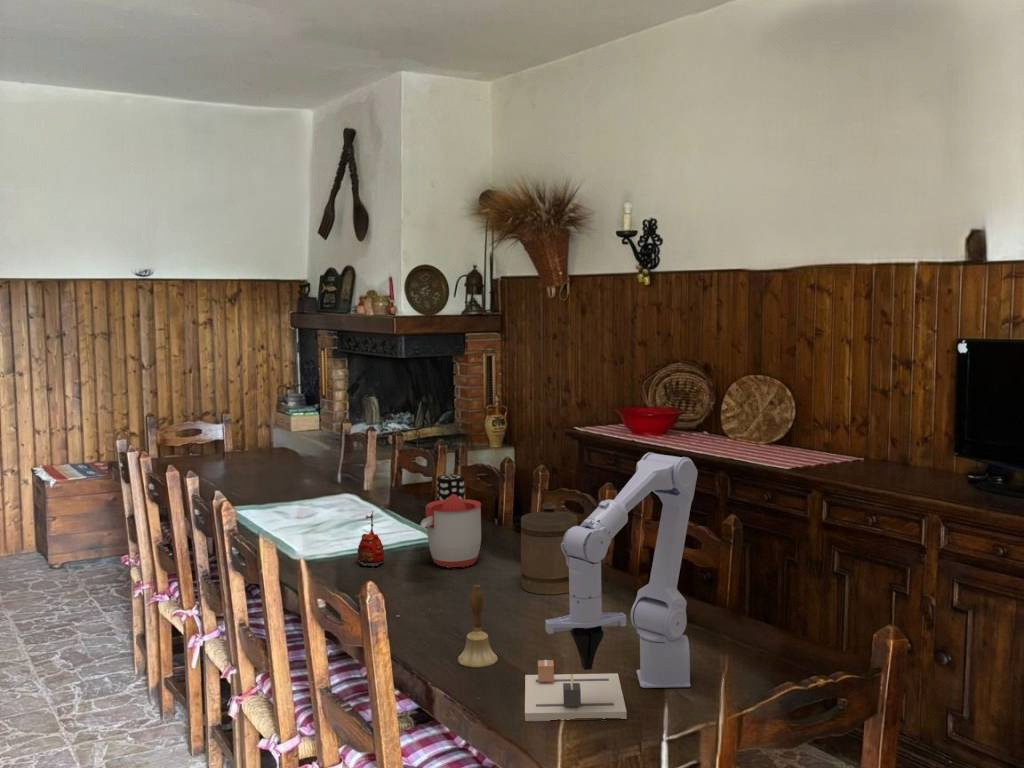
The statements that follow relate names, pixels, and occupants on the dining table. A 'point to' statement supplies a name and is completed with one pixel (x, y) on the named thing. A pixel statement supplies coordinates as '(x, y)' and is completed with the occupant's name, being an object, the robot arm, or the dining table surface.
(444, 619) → the dining table surface
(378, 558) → the red clay folk toy
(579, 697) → the fader charcoal
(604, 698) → the console
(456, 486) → the spotted tube
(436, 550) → the citrus juicer
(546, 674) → the fader terracotta
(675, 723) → the dining table surface
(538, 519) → the wooden container
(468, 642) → the hand bell
